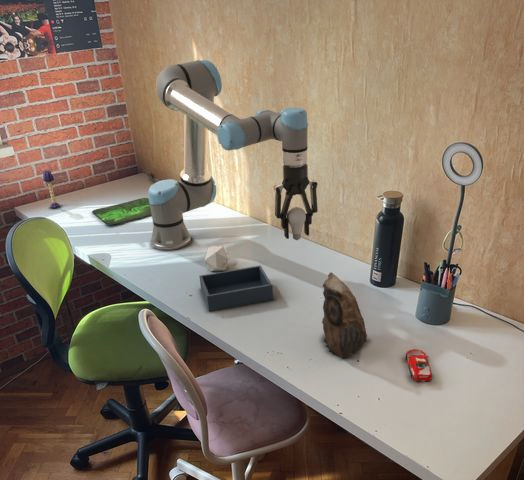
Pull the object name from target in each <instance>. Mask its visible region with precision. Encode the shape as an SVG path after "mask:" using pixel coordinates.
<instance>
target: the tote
mask: <svg viewBox="0 0 524 480" xmlns="http://www.w3.org/2000/svg"><path fill="white" fill-rule="evenodd" d="M198 277H199V284H200V292H201V294H202V296H203V299H204V301H205V304H206V307H207V310H208V312H215V311H218V310H224V309H225V310H226V309H230V308H235V307H241V306H246V305H253V304H258V303H263V302H268V301H273V300H274V293H273V284H272V281H271V280H270V278H269V277H268V276H267V273H266V272H265V270H264V269H263V267H262V266H261V265H255V266H248V267H243V268H237V269H231V270H230V269H229V270H225V271H217V272H214V273H206V274H202V275H199V276H198Z"/></svg>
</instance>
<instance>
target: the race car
mask: <svg viewBox="0 0 524 480" xmlns="http://www.w3.org/2000/svg"><path fill="white" fill-rule="evenodd" d="M428 358H430V356H428V355H427V354H426V352H425V351H423V350H421V349H417V348H413V349H409V350H408V351H406V352H405V362H406V364H407V368H408V371H409V374H410V378H411V380H412V381H413V382H415V383H421V384H424V383H425V384H426V383H432V380H433V372H432V368H431V365H430V362H429V359H428Z"/></svg>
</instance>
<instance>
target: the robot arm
mask: <svg viewBox="0 0 524 480" xmlns="http://www.w3.org/2000/svg"><path fill="white" fill-rule="evenodd" d="M222 83H223V82H222V78H221V74H220V72H219V70H218V68H217V66H216V65H215V64H214V63H213V62H212V61H211V60H208V59H201V60H200V59H196V60H194V61H189V62H183V63H178V64H171V65H168V66H167V67H165V68H163V69H161V71H160V73H159V74H158V76H157V79H156V82H155V92H156V95H157V97H158V99H159V101H161V104H163V105H164V106H165V107H167V108H168V109H169V110H171V111H174V112H180V113H182V114H183V115H184V125H183V126H184V133H183V134H184V137H183V138H184V139H183V140H184V142H183V143H184V145H183V146H184V148H183V150H184V152H183V153H184V154H183V157H184V158H183V164H184V165H183V169H182V170H181V171H180V174H179V178H180V179H179V181H177V180H176V179H173V178H172V179H171V178H168V179H162V180H159V181H156V180H155V179H154V178H153V177H152V176H153V175H152V172H149V179H150V180H151V181H152V182H153V184H151V185H150V187H149V189H148V191H147V194H148V195H147V196H148V199H149V203H150V208H151V214H152V215H151V218H152V225H153V226H152V232H151V239H150V241H151V246H152V247H153V248H154V249H156V250H159V251H175V250H180V249H183V248H184V247H186V246H188V245H189V244H190V243H191V241H192V239H191V234H190V232H189V230H188V228H187V226H186V224H185V221H184V215H183V214H185V213H188V212H190V211H194V210H196V209H200V208H205V207H206V206H207V205H210V204H212V203H213V202H214V201H215V199H216V196H217V185H216V181H215V179H214V177H213V176H212V175H211V172H209V170H208V156H209V155H208V151H209V131H210V132H211V133H213V134H214V135H215V136H216V137H217V141H218V143H219V145H220V147H221V148H222V149H223V150H225V151H235V150H236V151H237V150H240V149H243V148H245V147H246V148H247V147H249V146H252V145H257V144H260V143H263V142H266V141H270V140H275V141H279V142H281V150H282V152H281V153H282V164H283V165H282V179H283V180H282V182H281V184H279V185H276V184H275V185H273V190H274V193H275V195H274V216H275V218H277V219H280V227H281V228H282V230H283V237H285V239H286V240H289V239H290V229H289V228H290V224H289V223H288V218H287V213H288V211H289V210H290V209H289V208H290V206H291V202H292V199H293V198H294V197H295V196H296V195H299V196H300V197H301V201H302V203H303V206H304V209H305V214H306V220H305V222H304V224H303V232H304V234H305V235H306V236H307V237H308V236H310V225H312V224H313V216H314V214H315V213H318V211H319V210H318V197H317V189H318V182H317V180H315V179H312V180H311V179H309V168H308V167H309V166H308V164H307V163H308V160H309V159H308V153H309V152H308V148H309V147H308V127H309V123H308V112H307V110H306V109H305V108H302V107H288V108H287V107H286V108H284V109H283V110H281V112H276V111H273V110H268V109H267V110H265V109H261V110H258V111H257V112H256V113H255V114H254V115H252V116H248V117H244V118H241V117H238V116H236V115H234V114H233V113H232V112H230V111H228V110H226V109H225V108H223V107H221V105H218V104H217V103H215V97H218V96H219V95H220V93H222V88H223V84H222ZM307 187H309V192H310V193H309V194H310V202H309V200H308V199H309V198H308V197H307V192H306V189H307ZM283 189H284V190H285V194H284V200H283V203H282V193H283ZM310 205H311V206H310Z"/></svg>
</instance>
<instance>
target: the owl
mask: <svg viewBox="0 0 524 480" xmlns="http://www.w3.org/2000/svg"><path fill="white" fill-rule="evenodd" d="M322 287H323V291H322V295H323V298H324V300H323V305H322V310H323V317H322V320H321V323H322V330H323V333H324V338H323V343H325V344H326V345H325V347H326V348H328V352H329V353H331V354H332V355H334V356H337V357H339V358H341V359H347V358H349V357H350V356H351V355H352V354H355V352H356V351H357V350H359V349H360V348H362V347H363V346H364V345H365V344H366V343H367V342H368V340H367V339H368V334H367V329H366V324H365V320H364V318H363V315H362V313H361V309H360V306H359V303H358V301H357V299H356V296H355V295H354V293H353V292H352V290H351V289H350V287H348V286H347V284H346V283H345V282H343V281H342V280H341V279H340V278H339V277H338V276H337V275H336V274H334V273H333V271H332V272H329V273H328V275H327V278H326V280H325V281H324V282H323V283H322Z"/></svg>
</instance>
